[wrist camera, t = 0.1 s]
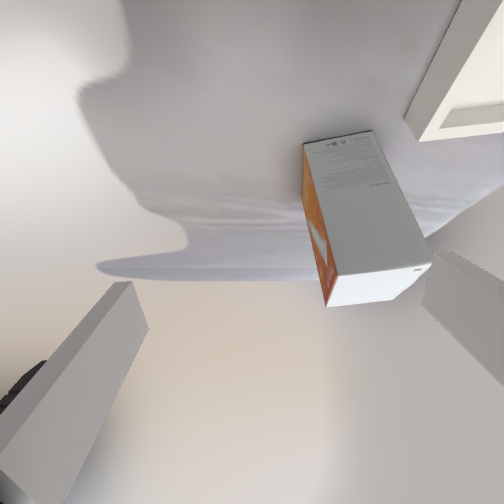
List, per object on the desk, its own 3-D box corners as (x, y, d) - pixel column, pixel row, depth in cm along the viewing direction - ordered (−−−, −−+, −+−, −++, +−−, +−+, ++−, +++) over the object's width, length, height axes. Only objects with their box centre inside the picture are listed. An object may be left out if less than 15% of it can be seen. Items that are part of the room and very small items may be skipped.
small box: (301, 142, 22) (336, 276, 16) (374, 128, 22) (441, 262, 15) (300, 200, 29) (325, 309, 23) (355, 191, 29) (396, 300, 22)
